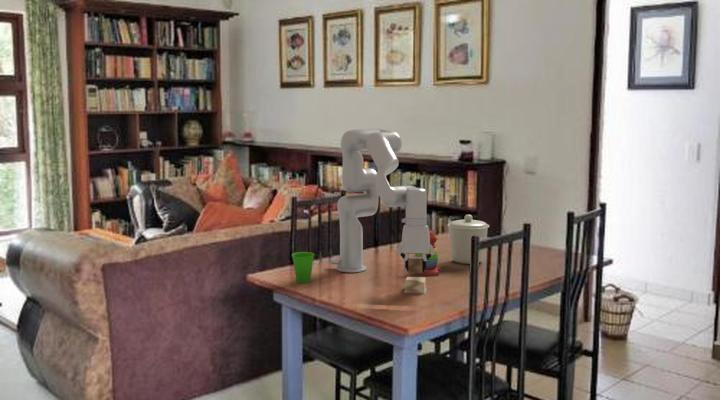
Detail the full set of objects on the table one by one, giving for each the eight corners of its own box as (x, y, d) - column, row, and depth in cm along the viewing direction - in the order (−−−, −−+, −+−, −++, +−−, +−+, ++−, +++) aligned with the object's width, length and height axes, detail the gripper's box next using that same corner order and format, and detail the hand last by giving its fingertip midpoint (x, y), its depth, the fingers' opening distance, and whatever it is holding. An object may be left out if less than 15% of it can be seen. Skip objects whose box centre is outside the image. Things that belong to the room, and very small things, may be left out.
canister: (460, 268, 299) (461, 219, 296) (439, 259, 316) (440, 213, 313) (496, 264, 306) (497, 216, 303) (473, 255, 323) (474, 210, 320)
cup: (297, 285, 271) (296, 257, 270) (288, 280, 279) (288, 253, 278) (318, 283, 276) (318, 255, 274) (309, 277, 284) (309, 251, 282)
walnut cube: (408, 273, 257) (408, 259, 256) (409, 269, 262) (409, 256, 261) (422, 273, 256) (422, 260, 255) (423, 270, 261) (423, 257, 260)
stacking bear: (438, 276, 286) (439, 232, 283) (413, 275, 288) (414, 232, 285) (440, 269, 296) (441, 228, 294) (416, 268, 298) (417, 227, 296)
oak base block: (404, 292, 257) (405, 281, 257) (406, 287, 264) (406, 276, 263) (424, 293, 256) (424, 282, 255) (425, 288, 263) (425, 277, 262)
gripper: (391, 223, 254) (391, 272, 257) (438, 224, 251) (438, 274, 254) (394, 219, 262) (394, 267, 264) (440, 220, 259) (439, 269, 261)
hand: (415, 270), depth 259 cm, fingers closed on walnut cube, 5 cm apart
